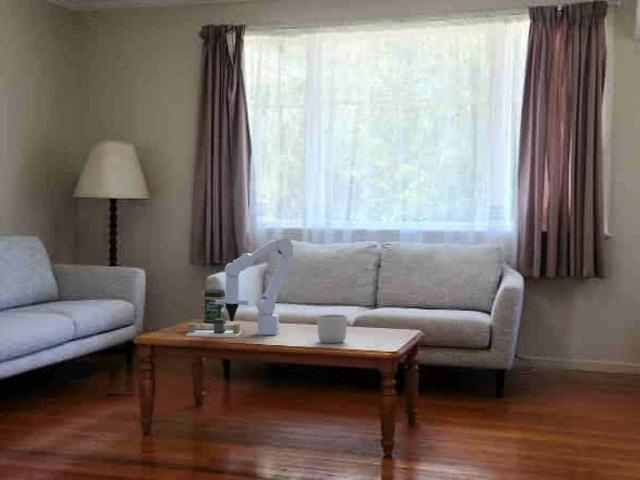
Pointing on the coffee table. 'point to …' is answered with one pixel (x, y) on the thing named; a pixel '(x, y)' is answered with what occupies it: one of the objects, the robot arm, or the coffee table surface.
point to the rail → (211, 333)
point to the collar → (219, 325)
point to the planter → (332, 328)
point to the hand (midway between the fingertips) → (231, 320)
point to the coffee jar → (213, 305)
